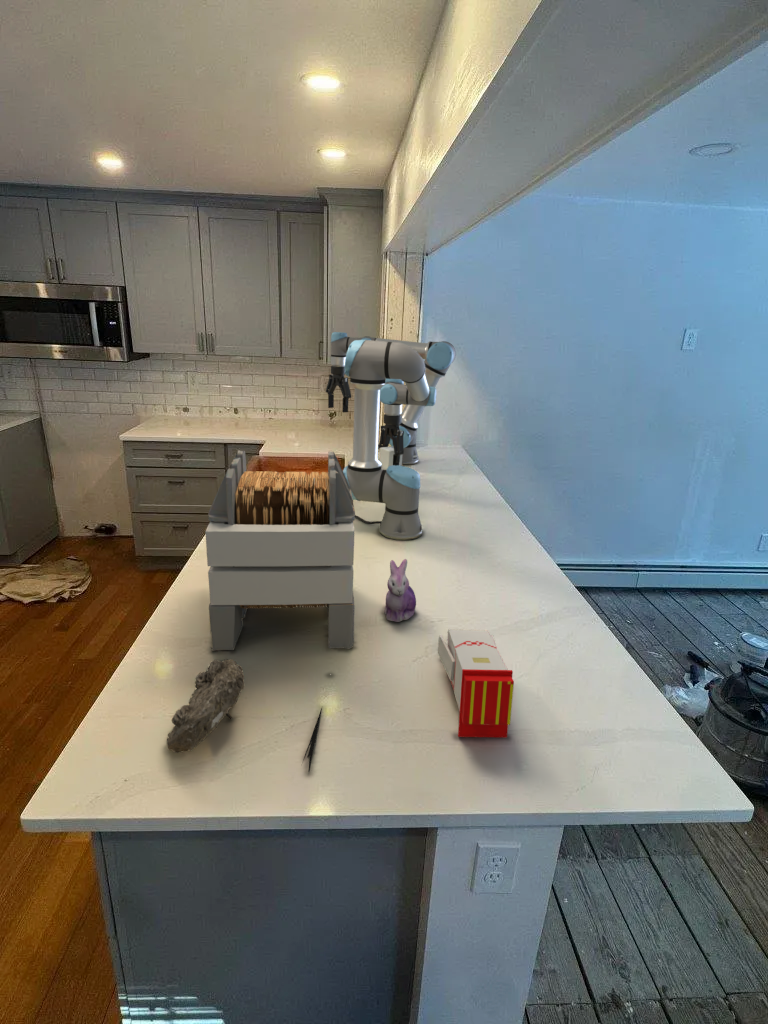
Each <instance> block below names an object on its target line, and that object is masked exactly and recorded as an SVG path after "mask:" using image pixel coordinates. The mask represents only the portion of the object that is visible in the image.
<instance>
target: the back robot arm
mask: <svg viewBox="0 0 768 1024" xmlns="http://www.w3.org/2000/svg"><path fill="white" fill-rule="evenodd" d="M355 340H372V341H387V342H399V343H403V344H405V345H407V346H409V347H411V348H412V349H414V350H415V351H416V352H417V353H418V354H419V355H420V356H421V357H422V359H423V360H424V363H425V367H426V370H425V377H426V380H427V383H428V386H431V387H435V388H437V385H438V383H439V381H440V379H441V378H444V377H445V376H446V374H447V373H448V371H449V368H450V367H451V365H452V364H453V362H454V361H455V360H456V356H457V351H456V349H455V348H456V347H455V346H454V345H453V344H452V343H451V342H449V341H445V340H443V341H442V340H441V341H428V342H420V341H419V342H418V341H410V340H400V339H390V338H381V337H372V336H361V337H351V336H348V333H347V332H344V331H333V332H332V333H331V335H330V365H331V366H330V374H329V375H328V381H327V385H326V388H325V393H326V394H327V396H328V397H327V404H328V405H327V408H328V409H334V408H335V403H334V402H335V394H334V392H335V390H336V388H337V387H338V388H339V389H340V392H341V395H342V410H341V411H342V413H349V399H352V392H351V389H350V383H349V377H348V376H347V377H345V376H346V374H345V358H346V354H347V350H348V348H349V346H350V344H351V343H352V342H353V341H355ZM425 408H426V406H419V405H406V404H405V405H404V408H403V409H402V414H400V415H401V416H402V422H401V424H400V425H399V428H400V430H401V431H404V435H403V445H404V454H402V466H412V465H416V464H418V463H419V455H418V450H417V438H418V437H417V436H418V428H419V426H418V425H419V423H418V421H419V420H420V418H421V415H422V413H423V412H424V410H425ZM389 445H390V446H393V441H392V439H390V442H389ZM378 448H379V443H378Z"/></svg>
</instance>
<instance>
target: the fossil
mask: <svg viewBox="0 0 768 1024" xmlns="http://www.w3.org/2000/svg"><path fill="white" fill-rule="evenodd" d="M243 670H244V669H243V667H242V665H240V664H237V662H236V661H235V660H234V659H232V658H231V659H227V658H226V659H224V660H223V661H222V660H217V659H212V660H211V661H210V663H209V665H208V666H207V671H201V672H199V673H198V674H197V675H196V676H195V680H194V684H195V685H194V687H195V689H194V690H193V693H192V694H191V697H190V698H189V700H188V704H184V705H182V706H181V707H180V709H177V710H176V711H175V713H174V715H173V716H172V718H171V723H172V724H173V727H172V730H171V731H170V732H168V734H167V738H166V741H167V742H166V745H167V749H168V750H169V751H173V752H174V753H176V754H178V753H182V752H188V751H189V752H192V751H193V750H195V748H196V747H197V746H199V744H200V743H201V742H203V741H204V740H205V739H206V738H207V737H208V736H209V735H210V734H211V733H212V732H214V730H215V729H217V727H218V726H219V724H220V722H221V721H222V720H223V719H224V718H225V716H226V717H227V719H229V720H233V717H232V715H230V714H229V710H230V709H231V708H234V706H235V704H236V703H237V702H238V699H239V697H240V695H241V693H242V691H243V690H245V689H244V688H245V675H244V671H243Z"/></svg>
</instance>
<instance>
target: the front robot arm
mask: <svg viewBox="0 0 768 1024" xmlns="http://www.w3.org/2000/svg"><path fill="white" fill-rule="evenodd" d="M424 361H425V359H422V357H421V356H420V355H419V354H418V353H417V352H416V351H415V350H414V349H412V348H411V347H409V346H407V345H405V344H403V343H399V342H387V341H372V340H355V341H353V342H352V343H351V344H350V346H349V348H348V350H347V354H346V358H345V376H347V377H348V378H350V379H349V384H351V386H353V389H354V392H353V393H354V397H353V432H352V433H353V437H352V438H353V439H352V457H351V459H350V460H349V461H348V463H347V465H346V466H344V467H343V469H342V471H343V473H344V475H345V477H346V479H347V482H348V484H349V486H350V488H351V493H352V499H353V501H357V502H370V503H378V504H384V505H385V507H384V508H385V509H384V513H383V515H382V519H381V520H374V521H368V520H365V518H364V519H363V518H362V517H360V516H358V515H356V514H355V519H357V520H359V521H361V522H363V523H364V524H367V525H378V524H379V526H378V533H379V534H380V535H381V536H382V537H385V538H387V539H389V540H395V541H410V540H415V539H418V538H420V537H421V536H422V535H423V525H422V524H421V518H420V515H419V507H420V506H419V505H420V504H419V503H420V490H421V474H420V472H418V471H417V470H415V469H414V468H412V467H409V466H406V465H402V466H399V462H400V455H402V454H404V445H403V435H404V431H401V430H400V428H399V425H400V424H401V422H402V416H401V414H402V412H403V405H405V406H406V405H419V406H425V407H433V406H435V405H436V402H437V387H431V386H428V383H427V380H426V377H425V370H426V367H425V363H424ZM381 404H383V413H384V414H383V421H382V423H383V424H384V425H380V407H381ZM379 431H380V432H379ZM379 433H380V434H379ZM379 435H380V436H379ZM390 439H392V441H393V447H394V453H395V454H393V465H392V466H389V467H388V468H387V470H383V469H382V463H381V462H380V461H379V449H380V448H382V447H390V446H389V445H390V444H389V442H390ZM378 444H379V447H378Z"/></svg>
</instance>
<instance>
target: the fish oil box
mask: <svg viewBox="0 0 768 1024" xmlns="http://www.w3.org/2000/svg"><path fill="white" fill-rule="evenodd" d="M393 454H395V453H394V447H393V446H391V445H390V446H388V447H382V448H379V451H378V460H379V461H380V462H381V463H382V469H383V470H387V468H388V467H389V466H392V465H393ZM399 466H403V465H402V455H400V462H399Z"/></svg>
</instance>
